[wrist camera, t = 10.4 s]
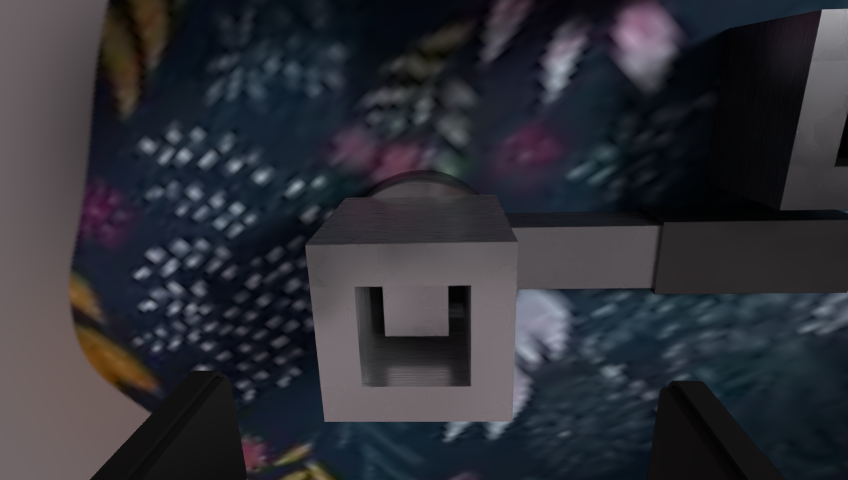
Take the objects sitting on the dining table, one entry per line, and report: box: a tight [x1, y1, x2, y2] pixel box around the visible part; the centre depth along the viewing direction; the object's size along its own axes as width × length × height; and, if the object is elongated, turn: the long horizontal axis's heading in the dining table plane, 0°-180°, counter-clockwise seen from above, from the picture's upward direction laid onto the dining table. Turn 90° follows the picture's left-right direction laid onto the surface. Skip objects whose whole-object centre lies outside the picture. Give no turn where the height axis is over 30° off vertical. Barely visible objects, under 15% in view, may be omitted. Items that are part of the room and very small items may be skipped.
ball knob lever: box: [365, 170, 848, 336], centre depth 19 cm, size 22×7×7 cm, turn 91°
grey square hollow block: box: [705, 9, 848, 210], centre depth 18 cm, size 6×6×5 cm
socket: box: [305, 195, 518, 422], centre depth 17 cm, size 6×6×6 cm
